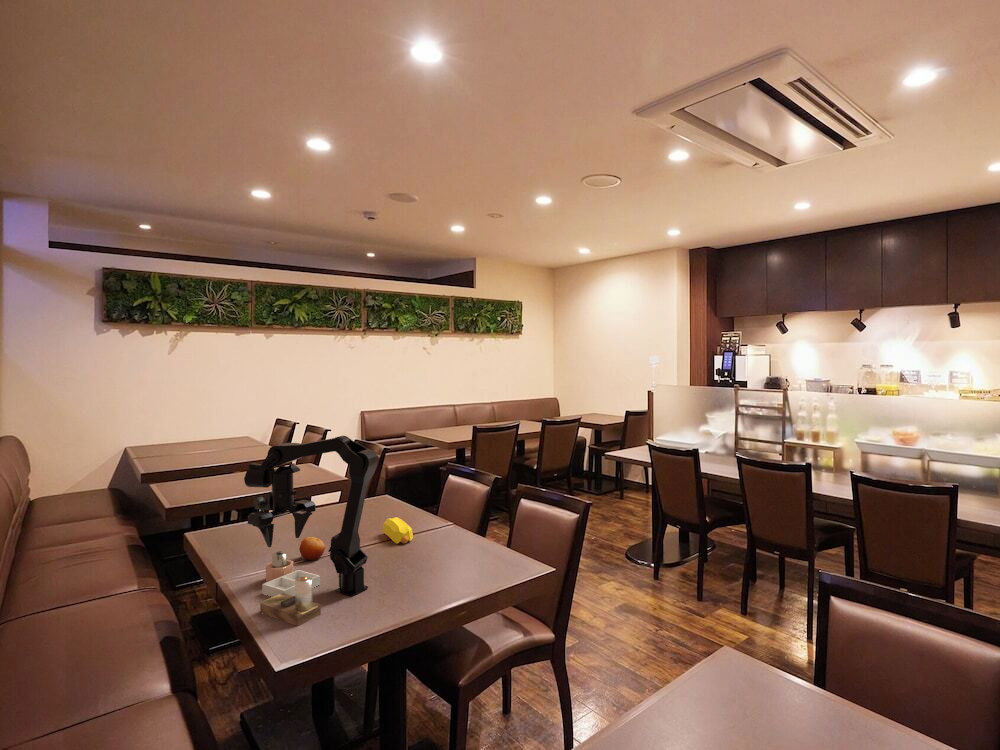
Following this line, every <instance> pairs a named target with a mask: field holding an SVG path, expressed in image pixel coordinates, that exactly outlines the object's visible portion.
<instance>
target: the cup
mask: <svg viewBox="0 0 1000 750" xmlns="http://www.w3.org/2000/svg"><path fill="white" fill-rule="evenodd" d="M294 568H295V567H294V560H290V559H287V566H285V567H282V568H272V561H270V562H268V563H267V564H266V566H265V581H266V583H267V582H269V581H272V580H274V579H277V578H279V577H282V576H284V575H287V574H289V573H292V572H294Z"/></svg>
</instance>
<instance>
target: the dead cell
mask: <svg viewBox="0 0 1000 750" xmlns="http://www.w3.org/2000/svg"><path fill="white" fill-rule="evenodd" d="M287 560H288V552H286V551H281V550H280V551H276V552H274V553H272V554H271V562H272V568H282V567H285V566H287Z"/></svg>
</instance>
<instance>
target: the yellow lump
mask: <svg viewBox="0 0 1000 750" xmlns="http://www.w3.org/2000/svg"><path fill="white" fill-rule="evenodd" d="M382 526H383V527H382V531H381V532H382V533H384V534H385V536H387V537H388V538H390V539H391V540H392V542H393V543H395V544H396V545H398V544H399V543H400V542H401V543H402V544H406V543H408V541H409V543H410V542H411V541H412V540H413V538H414V535H413V528H412V527H411V526H410V525H409V524H408V523H406V522H405V521H404V520H403V519H401V518H399V517H397V516H396V517H393V518H389V517H388V518H387V519H386V520H385V521H384V522H383V525H382Z"/></svg>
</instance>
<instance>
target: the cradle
mask: <svg viewBox="0 0 1000 750" xmlns="http://www.w3.org/2000/svg"><path fill="white" fill-rule="evenodd" d="M259 607H260V610H259V611H260V614H262V613H263V614H262V615H265V614H266V616H268V617H271V618H274V619H277V620H279V621H282V622H286V623H288V624H292V625H294V626H297V627H299V626H301V625H303V624H304V623H306V622H309V621H310V620H312V619H314V618H316V617H319V616H321V613H322V611H321V610H322V608H321V607H322V605H321V604H320V603H318V602H313V601H312V609H310V610H308V611H304V612H298V611H296V610H295V596H292V595H289V594H285V593H283V594H279V595H276V596H274V597H269V598H267V599H264V600H263V601H262V602H260V603H259Z"/></svg>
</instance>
